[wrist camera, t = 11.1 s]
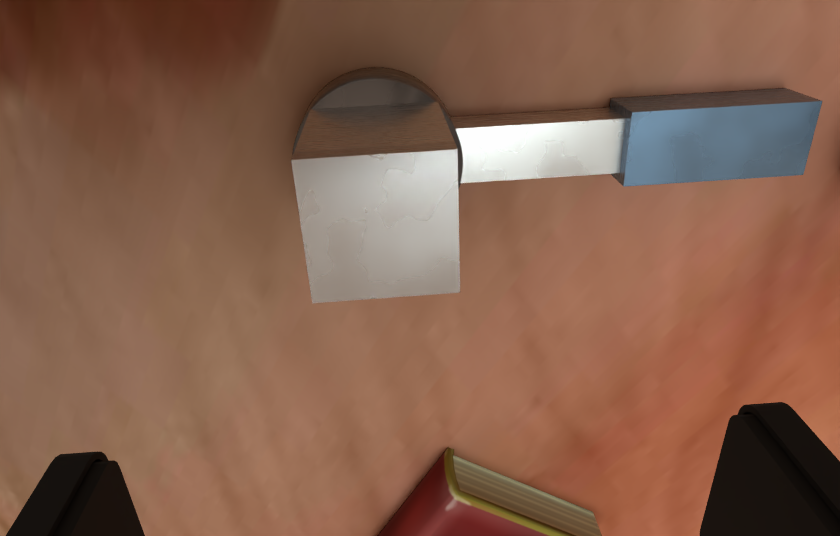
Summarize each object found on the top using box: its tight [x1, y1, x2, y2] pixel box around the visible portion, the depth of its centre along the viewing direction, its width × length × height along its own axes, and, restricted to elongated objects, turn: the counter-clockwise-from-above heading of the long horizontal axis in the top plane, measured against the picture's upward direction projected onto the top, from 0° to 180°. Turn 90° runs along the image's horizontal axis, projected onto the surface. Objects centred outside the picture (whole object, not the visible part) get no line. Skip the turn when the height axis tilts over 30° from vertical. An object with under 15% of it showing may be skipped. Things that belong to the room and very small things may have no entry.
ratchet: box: [293, 67, 822, 189], centre depth 25 cm, size 7×22×7 cm, turn 92°
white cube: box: [291, 102, 460, 303], centre depth 22 cm, size 5×5×6 cm
